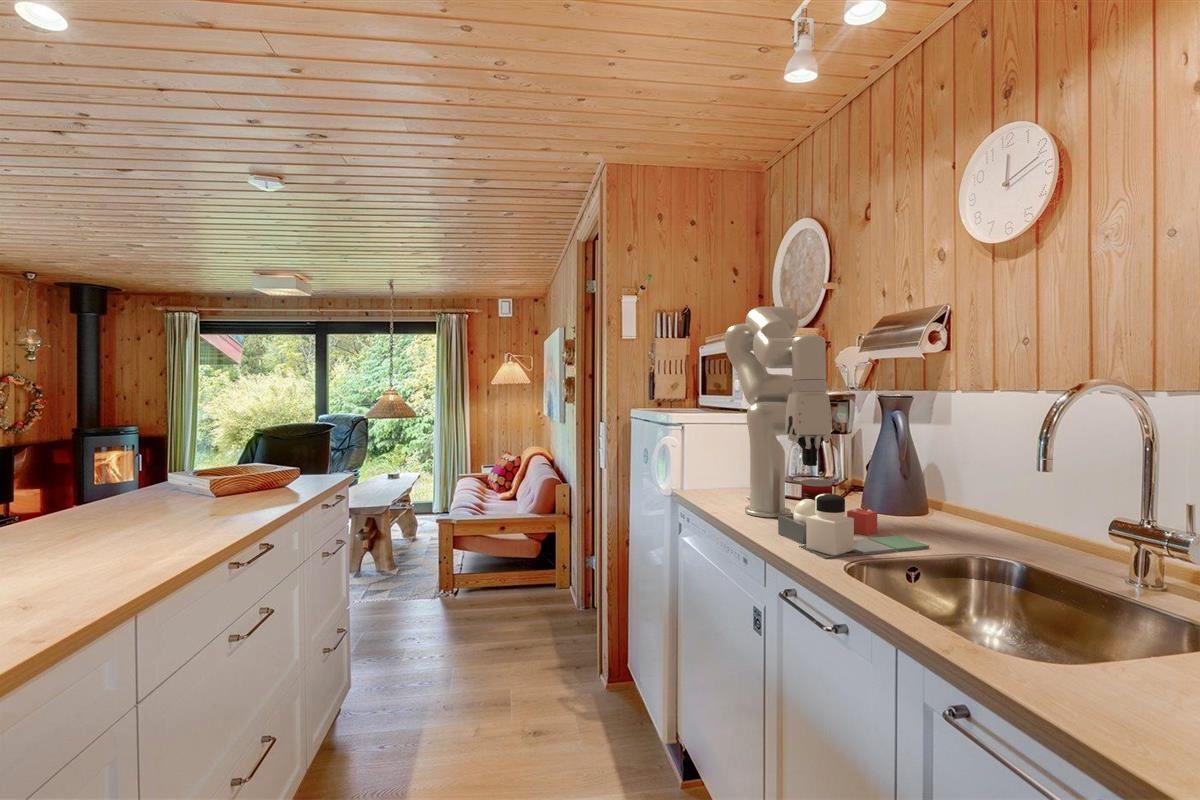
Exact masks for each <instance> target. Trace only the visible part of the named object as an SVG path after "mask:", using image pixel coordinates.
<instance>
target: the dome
mask: <svg viewBox="0 0 1200 800" xmlns="http://www.w3.org/2000/svg"><path fill="white" fill-rule="evenodd" d="M793 515H794V520H795V521H798V522H801V523H803V524H807V517H808V516H813V515H817V514H816V513H815V501H814V500H812V499H804V500H800V501H798V502H797V503H796V504H795V507H794V510H793Z"/></svg>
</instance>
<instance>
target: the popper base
mask: <svg viewBox="0 0 1200 800" xmlns="http://www.w3.org/2000/svg"><path fill="white" fill-rule="evenodd" d="M777 518H778V519H777V520H778V521H777V523H778V524H777V526H778V527H777V530H778V531H777V532H778V533H777V534H778V535H779V534H780V536H782V535H783V536H782V537H784V536H785V537H784V538H786V537H787V539H789V538H790V539H789V540H791V539H792V540H791V541H793V540H794V541H793V542H795V541H796V543H798V542H799V543H798V544H800V543H801V544H800V545H802V544H806V545H807V524H803V523H801V522H798V521H795V520H794V514H790V515H784V516H782V515H781V516H778V517H777Z"/></svg>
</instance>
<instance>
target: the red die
mask: <svg viewBox="0 0 1200 800" xmlns="http://www.w3.org/2000/svg"><path fill="white" fill-rule="evenodd" d="M846 517H850V518H853V519H854V534H859V535H863V536H869V535H871V534H875V533H878V511H875V510H871V509H863V508H860V507H859V508H853V509H850V510H846ZM868 534H869V535H868Z"/></svg>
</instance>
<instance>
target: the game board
mask: <svg viewBox="0 0 1200 800" xmlns="http://www.w3.org/2000/svg"><path fill="white" fill-rule="evenodd" d="M798 547H799V548H800V547H801V548H800V549H802V548H803V549H802V550H804V549H805V551H807V552H809V553H811V554H813V553H814V554H813V555H815V554H816V556H818V557H820V558H822V559H825V560H827V559H837V558H838V559H839V558H847V557H849V556H850V557H856V556H866V555H867V554H868V555H874V553H877V554H885V553H896V552H906V551H914V550H925V549H926V550H927V549H930V545H928V544H926V543H922V542H919V541H916V540H912V539H910V538H908V537H907V538H906V537H903V536H901V535H897V534H896V535H888V536H879V537H869V538H857V539H855V538H854V550H853V551H849V552H851V553H847V554H846V553H845V554H839V555H836V556H834V555H828V556H827V555H824V554H822V553H820V552H818V551H815V550H811V549H807V544H806V545H799V546H798Z"/></svg>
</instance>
